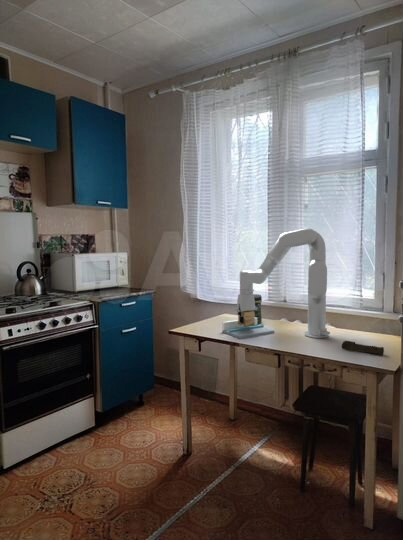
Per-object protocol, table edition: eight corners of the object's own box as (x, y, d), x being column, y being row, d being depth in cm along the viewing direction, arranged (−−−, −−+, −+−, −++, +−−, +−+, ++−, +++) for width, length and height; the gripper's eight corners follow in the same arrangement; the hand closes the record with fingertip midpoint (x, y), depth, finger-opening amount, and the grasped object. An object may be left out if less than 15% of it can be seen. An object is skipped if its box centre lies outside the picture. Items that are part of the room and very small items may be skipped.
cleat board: (274, 332, 223) (274, 322, 223) (240, 338, 211) (239, 328, 211) (255, 326, 239) (255, 317, 238) (222, 332, 227) (222, 322, 227)
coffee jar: (254, 325, 243) (253, 296, 242) (244, 323, 249) (244, 294, 248) (264, 322, 250) (263, 294, 248) (254, 320, 256) (254, 293, 254)
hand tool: (384, 354, 181) (384, 345, 180) (382, 356, 177) (382, 346, 177) (343, 348, 192) (343, 338, 192) (340, 349, 189) (341, 340, 189)
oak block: (254, 325, 224) (254, 311, 223) (246, 326, 221) (246, 312, 220) (246, 322, 231) (246, 309, 230) (238, 323, 228) (238, 310, 227)
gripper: (254, 289, 232) (254, 319, 233) (230, 292, 223) (230, 322, 225) (262, 291, 225) (262, 321, 227) (237, 293, 217) (237, 325, 219)
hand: (246, 321), depth 226 cm, fingers closed on oak block, 6 cm apart
